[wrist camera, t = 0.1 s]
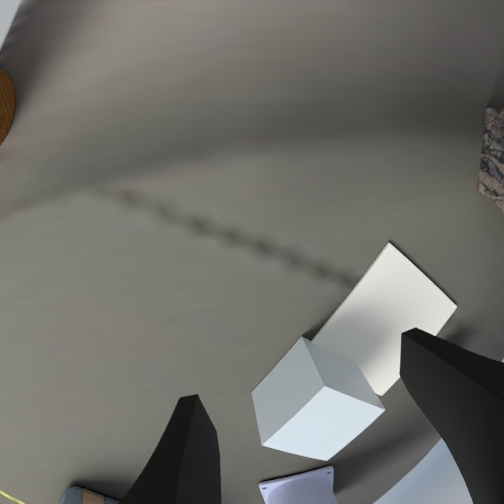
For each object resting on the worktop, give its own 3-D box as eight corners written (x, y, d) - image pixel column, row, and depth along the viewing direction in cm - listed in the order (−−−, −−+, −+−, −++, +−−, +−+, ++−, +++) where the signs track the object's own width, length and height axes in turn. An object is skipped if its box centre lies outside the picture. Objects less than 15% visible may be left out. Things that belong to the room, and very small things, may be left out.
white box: (357, 365, 23) (385, 409, 18) (309, 413, 24) (326, 460, 19) (301, 336, 21) (324, 386, 16) (251, 392, 22) (261, 445, 17)
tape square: (455, 305, 22) (457, 306, 22) (381, 394, 24) (381, 395, 24) (387, 242, 20) (389, 242, 19) (297, 356, 22) (297, 358, 21)
